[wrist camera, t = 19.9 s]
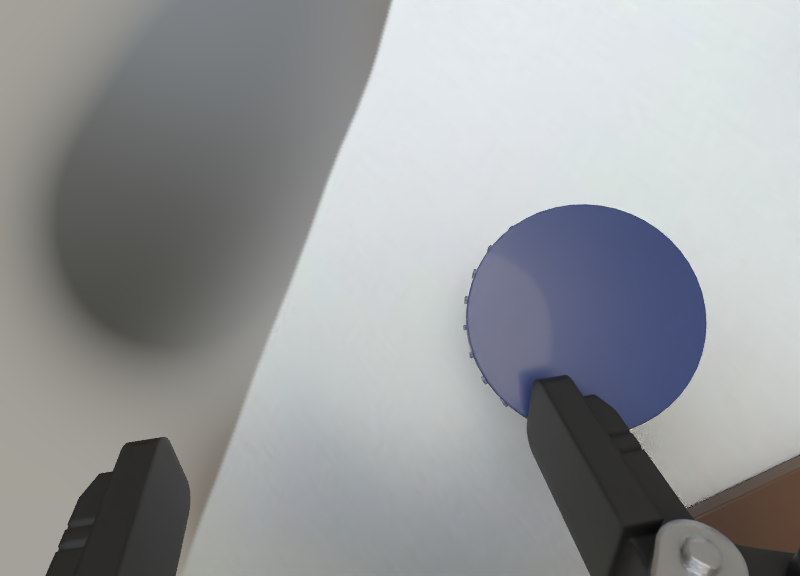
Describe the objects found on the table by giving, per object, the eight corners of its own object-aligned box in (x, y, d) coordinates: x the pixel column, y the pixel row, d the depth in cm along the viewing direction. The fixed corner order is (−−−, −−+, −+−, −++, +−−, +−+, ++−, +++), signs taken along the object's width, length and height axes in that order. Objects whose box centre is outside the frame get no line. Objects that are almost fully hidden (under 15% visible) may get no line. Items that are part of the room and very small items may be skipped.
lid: (524, 461, 14) (534, 480, 12) (428, 277, 15) (424, 268, 13) (718, 366, 14) (758, 371, 12) (608, 183, 14) (630, 160, 13)
